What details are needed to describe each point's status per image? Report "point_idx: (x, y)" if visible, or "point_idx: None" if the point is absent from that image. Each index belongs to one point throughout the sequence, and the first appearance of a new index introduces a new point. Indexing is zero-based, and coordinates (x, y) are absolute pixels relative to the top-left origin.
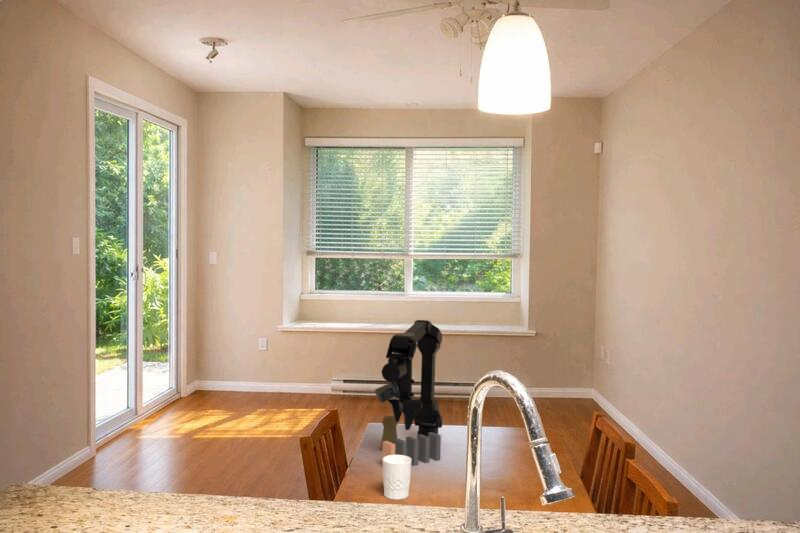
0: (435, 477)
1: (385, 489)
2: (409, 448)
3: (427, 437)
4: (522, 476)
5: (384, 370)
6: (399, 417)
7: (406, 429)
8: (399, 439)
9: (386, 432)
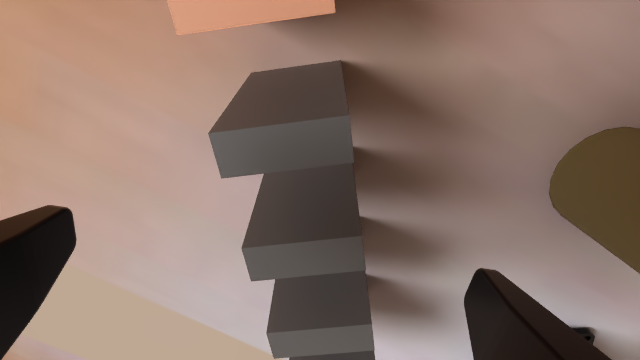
0: (58, 163)
1: None
2: (310, 196)
3: (278, 347)
4: None
5: None
6: (477, 352)
7: (44, 212)
8: (320, 155)
9: None
